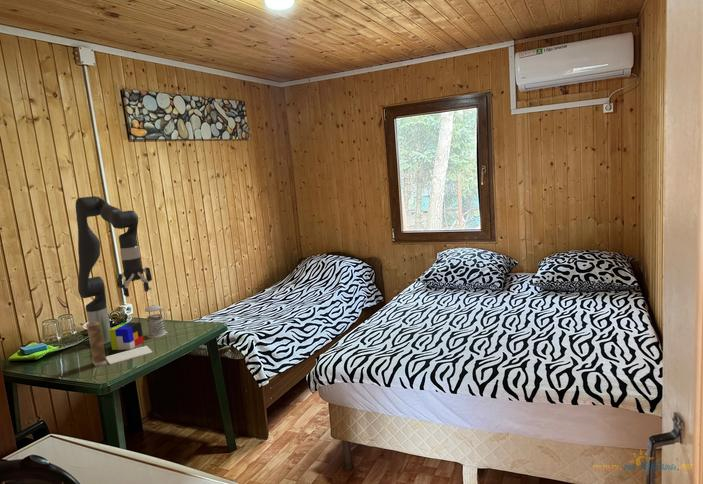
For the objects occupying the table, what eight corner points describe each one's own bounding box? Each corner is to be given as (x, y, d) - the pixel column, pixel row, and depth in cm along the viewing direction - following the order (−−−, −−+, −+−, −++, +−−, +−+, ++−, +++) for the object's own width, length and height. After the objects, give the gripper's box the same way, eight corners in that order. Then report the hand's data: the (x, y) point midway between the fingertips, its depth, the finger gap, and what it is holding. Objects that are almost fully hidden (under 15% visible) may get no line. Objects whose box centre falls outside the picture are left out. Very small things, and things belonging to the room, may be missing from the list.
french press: (142, 336, 245) (135, 289, 241) (162, 329, 255) (155, 283, 251) (155, 338, 240) (147, 290, 236) (174, 331, 249) (167, 284, 246)
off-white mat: (109, 364, 209) (109, 363, 209) (105, 357, 219) (105, 356, 219) (152, 352, 219) (152, 351, 219) (146, 346, 229) (146, 345, 229)
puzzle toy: (130, 349, 227) (127, 329, 226) (112, 349, 229) (108, 329, 228) (143, 341, 237) (140, 322, 235) (125, 342, 239) (122, 322, 237)
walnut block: (95, 366, 209) (88, 326, 206) (93, 362, 213) (86, 324, 211) (106, 363, 211) (99, 324, 209) (104, 359, 216) (97, 321, 213)
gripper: (142, 253, 215) (148, 289, 217) (110, 260, 204) (116, 297, 206) (151, 254, 210) (156, 290, 212) (118, 261, 199) (124, 299, 201)
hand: (136, 293), depth 209 cm, fingers open, 8 cm apart
